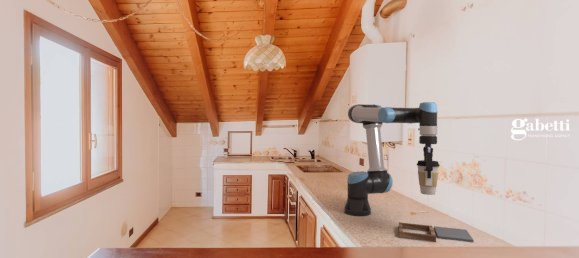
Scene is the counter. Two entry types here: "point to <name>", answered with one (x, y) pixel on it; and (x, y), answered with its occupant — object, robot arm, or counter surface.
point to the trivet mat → (453, 234)
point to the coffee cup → (422, 177)
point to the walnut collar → (416, 235)
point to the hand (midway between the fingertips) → (427, 183)
